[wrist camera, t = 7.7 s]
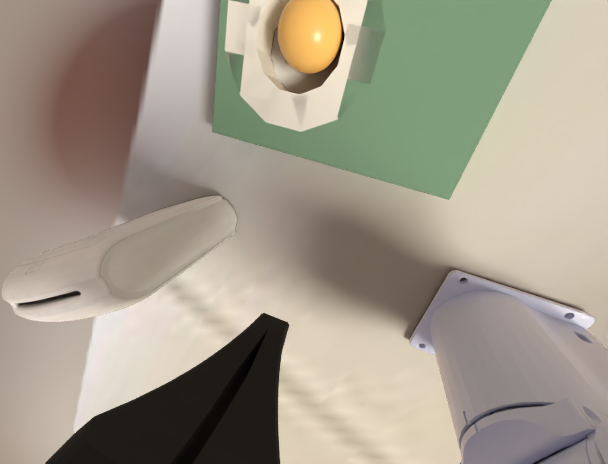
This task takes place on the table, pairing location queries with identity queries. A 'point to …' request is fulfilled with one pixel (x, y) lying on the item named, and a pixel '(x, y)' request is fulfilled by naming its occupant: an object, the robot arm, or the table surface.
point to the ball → (309, 34)
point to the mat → (378, 85)
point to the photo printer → (118, 262)
